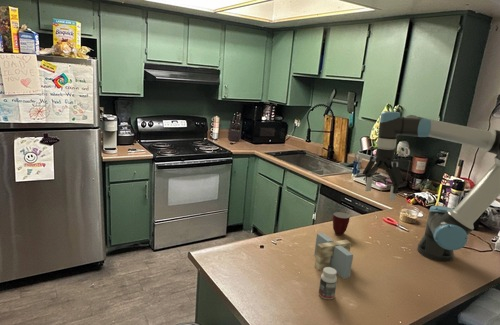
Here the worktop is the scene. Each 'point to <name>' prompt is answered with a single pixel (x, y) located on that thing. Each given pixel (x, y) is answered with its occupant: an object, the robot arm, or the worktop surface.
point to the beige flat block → (328, 252)
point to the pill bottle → (328, 283)
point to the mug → (340, 222)
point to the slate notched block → (337, 257)
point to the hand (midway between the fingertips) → (379, 195)
